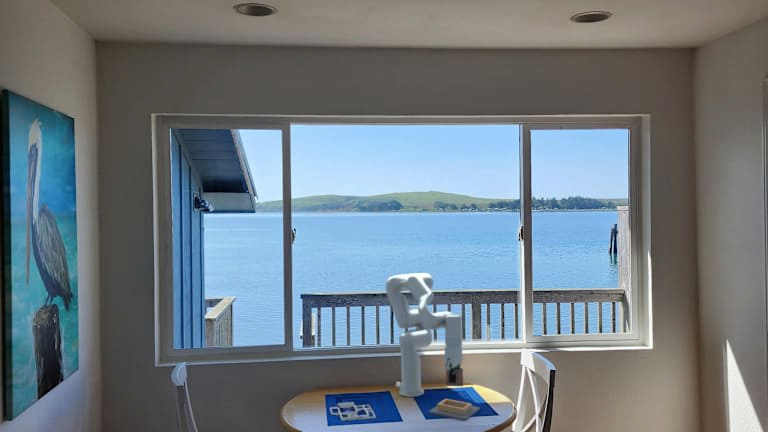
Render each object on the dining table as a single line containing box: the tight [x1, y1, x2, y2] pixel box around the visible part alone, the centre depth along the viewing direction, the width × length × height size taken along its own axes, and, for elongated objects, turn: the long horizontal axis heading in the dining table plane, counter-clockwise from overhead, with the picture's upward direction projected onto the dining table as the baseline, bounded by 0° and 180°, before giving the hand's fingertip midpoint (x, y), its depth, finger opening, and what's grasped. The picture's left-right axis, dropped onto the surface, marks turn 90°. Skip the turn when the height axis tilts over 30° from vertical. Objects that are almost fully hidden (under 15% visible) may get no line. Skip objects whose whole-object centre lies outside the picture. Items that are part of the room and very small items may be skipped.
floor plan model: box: [329, 401, 377, 422], centre depth 270 cm, size 19×25×2 cm
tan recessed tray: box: [428, 398, 481, 422], centre depth 269 cm, size 18×16×4 cm
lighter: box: [445, 364, 464, 387], centre depth 269 cm, size 8×3×10 cm, turn 69°
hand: (454, 380), depth 269 cm, fingers closed on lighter, 3 cm apart
